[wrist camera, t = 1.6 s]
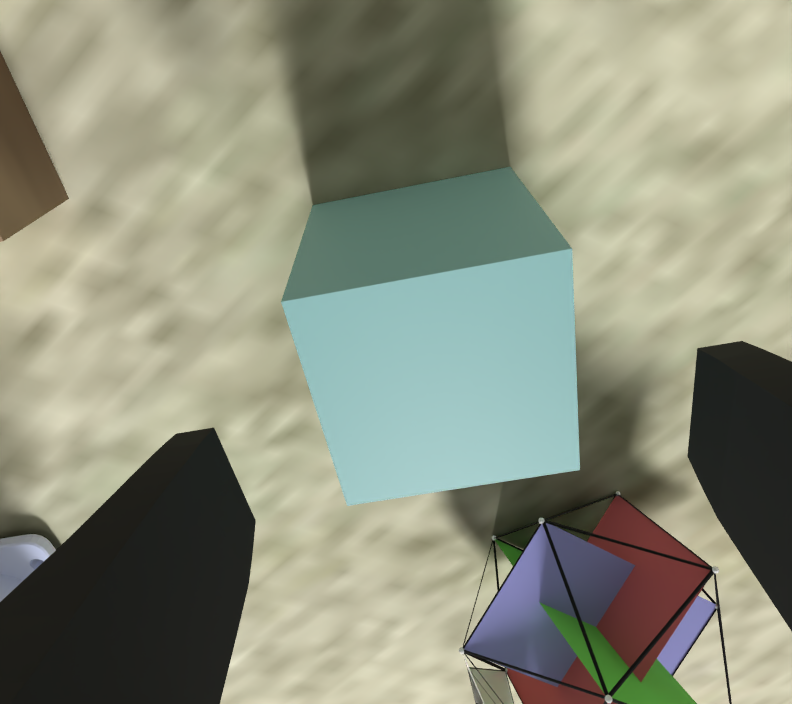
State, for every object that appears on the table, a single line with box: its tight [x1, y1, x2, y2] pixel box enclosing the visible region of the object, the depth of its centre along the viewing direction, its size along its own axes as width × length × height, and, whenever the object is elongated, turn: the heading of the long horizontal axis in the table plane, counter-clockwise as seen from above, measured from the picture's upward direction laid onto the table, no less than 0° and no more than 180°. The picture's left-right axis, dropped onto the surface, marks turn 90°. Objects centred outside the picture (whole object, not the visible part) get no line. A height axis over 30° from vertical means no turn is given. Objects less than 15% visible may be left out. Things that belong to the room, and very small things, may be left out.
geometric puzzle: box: [459, 491, 732, 704], centre depth 16 cm, size 7×7×8 cm
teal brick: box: [281, 167, 580, 506], centre depth 12 cm, size 4×4×5 cm
